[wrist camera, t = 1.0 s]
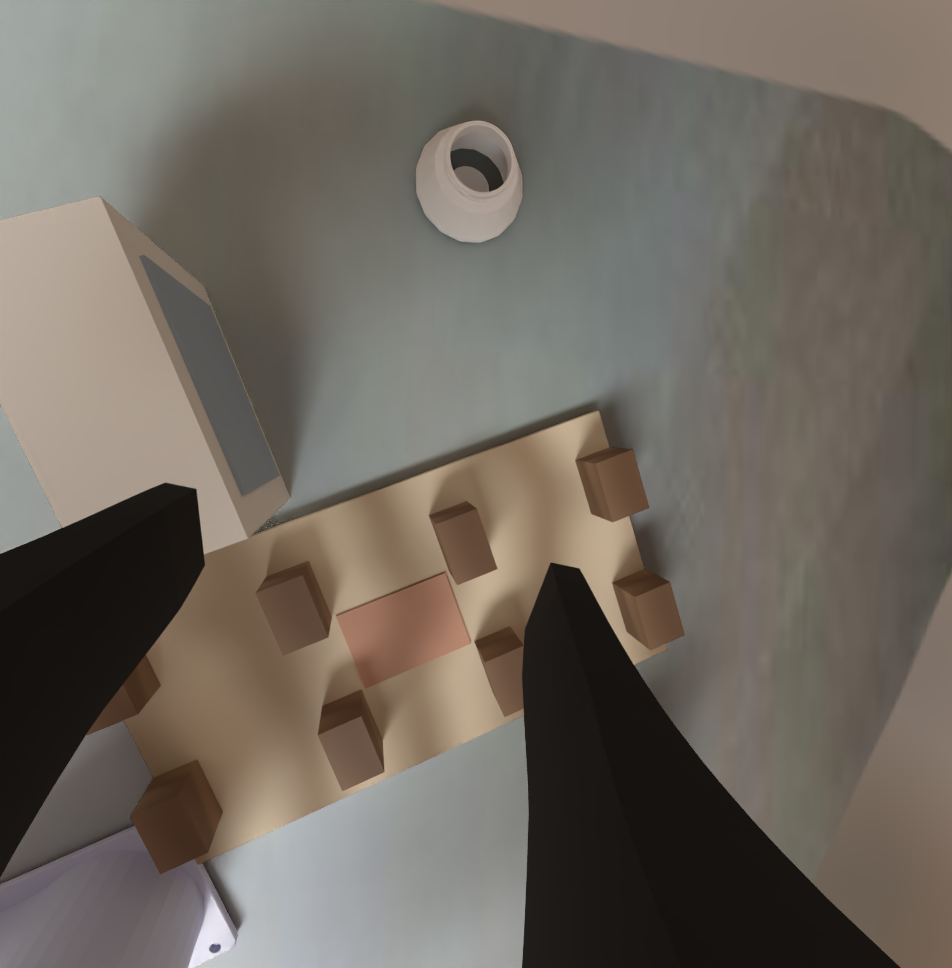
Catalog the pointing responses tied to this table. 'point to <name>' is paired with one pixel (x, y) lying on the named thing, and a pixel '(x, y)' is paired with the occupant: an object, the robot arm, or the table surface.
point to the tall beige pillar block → (124, 375)
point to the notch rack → (375, 635)
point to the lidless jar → (468, 183)
